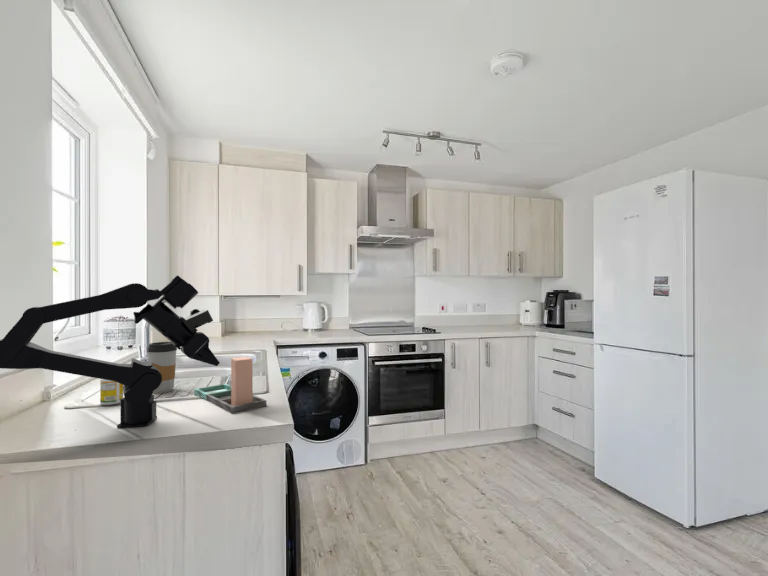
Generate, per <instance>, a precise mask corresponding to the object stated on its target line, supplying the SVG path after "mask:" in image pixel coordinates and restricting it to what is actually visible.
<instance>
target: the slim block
mask: <svg viewBox="0 0 768 576" xmlns="http://www.w3.org/2000/svg"><path fill="white" fill-rule="evenodd" d="M230 359H231V362H230V366H231V367H230V377H231V379H230V386H231V404H230V405H232V406H238V405H243V404H247V403H252V402H253V395H254V394H253V391H254V390H253V388H254V387H253V384H254V383H253V381H254V380H253V378H254V377H253V375H254V374H253V358H251V357H249V356H242V357H241V356H240V357H232V358H230Z"/></svg>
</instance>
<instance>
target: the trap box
mask: <svg viewBox="0 0 768 576" xmlns="http://www.w3.org/2000/svg"><path fill="white" fill-rule="evenodd" d="M194 395H196V396H198V395H199V396H198V397H200V396H202V397H203V398H202V397H201V398H202V399H204V398H205V399H206V400H205V399H204V400H205V401H207V400H208V401H207V402H209V401H210V403H211V402H212V403H211V404H213V403H214V404H213V405H215V406H217V407H219V408H221V409H223V410H225V411H226V412H229V413H230V414H235V413H241V412H245V411H250V410H254V409H258V408H264V407H267V399H265V398H262V397H259V396H257V395H256V394H255V395H254V394H253V402H252V403H247V404H243V405H238V406H232V405H231V384H227V383H222V384H215V385H211V386H210V385H209V386H204V387H199V388H194Z"/></svg>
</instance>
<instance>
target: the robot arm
mask: <svg viewBox="0 0 768 576" xmlns="http://www.w3.org/2000/svg"><path fill="white" fill-rule="evenodd" d="M198 294H199V291H198V290H197V289H196V288H195V287H194V286H193V285H192V284H190V283H189V282H187V281H186V280H184V279H183V278H182V277H181V276H179V275H174V276H173V278H172V279H171V280H170V281H169V282H168V283H167V284H165V286H164V287H163V288H161V290H159V289H158V288H155V289H148V287H146V286H145V285H144V284H143V283H134V282H133V283H130V284H125V285H122V286H120V287H118V288H115V289H112V290H110V291H107V292H104V293H101V294H97V295H93V296H87V297H83V298H77V299H72V300H69V301H63V302H58V303H54V304H48V305H44V306H33V307H30V308H27V309H26V310H24V312H23V314H22V316H21V317H20V319H19V320H17V322H16V323H15V324H14V325H13V326H12V328H11V329H10V330H9V331H8V332H7V333H6V334H5V336H4V337H3V338H1V339H0V369H10V370H30V369H31V370H32V369H34V370H35V369H40V370H41V369H42V370H49V371H55V372H58V373H66V374H72V375H77V376H83V377H89V378H94V379H99V380H101V379H105V380H111V381H115V382H118V383H120V384H122V385H123V398H122V399H120V403H119V404H120V407H119V409H120V414H119V415H120V421H119V422H120V423H118V424H117V425H116V428H133V427H135V428H136V427H146V426H148V425H149V424H151V423H152V422H153V421H154V420H156V419H157V418H158V415H157V401H156V400H155V394H153V391H154V390H155V389H157V388H158V387H159V386H160V384H161V381H162V376H161V374H160V372H159V371H158V369H157V368H156V367H155V366H153V365H152V364H151V363H150V361H141V360H139V359H136V358H131V361H130V363H116V362H112V361H106V360H101V359H97V358H92V357H91V358H90V357H85V356H81V355H76V354H71V353H65V352H61V351H55V350H51V349H47V348H45V347H44V346H41V345H39V344H37V343H34V342H31V341H32V339H33V338H34V337H35V335H36V334H37V333H38V331H39V330H40V329H41V328H42V326H43V325H44V324H47V323H51V322H57V321H61V320H65V319H69V318H74V317H79V316H82V315H84V316H85V315H88V314H92V313H97V312H100V311H106V310H123V309H136V308H141V307H143V306H144V307H143V308H142V309H141V310H140V311H133V312H132V313H133V316H134V317H133V318H134V319H133V322H134V323H135V325H137V324H139V323H140V322H141V321H142V320H144V321H145V322H146V323H148V324H149V325H150V326H152V327H153V328H154V329H155V330H156V331H157V332H158V333H160V334H161V335H162V336H164V338H166V339H167V340H168V341H169V342H172V343H173V345H174V346H175V347H177V350H179V351H181V352H182V353H183V354H184V355H185V356H186V357H188V359H191V360H195V361H198V362H202V363H205V364H208V365H212V366H215V367H218V366H219V365H220V360H218V359H217V357H216V355H215V354H214V353H213V351H212V349H211V348H210V347H209V346H210V345H209V344H210V337H208V336H207V335H206V334H205V333H203V332H200V331H198V329H197V328H199V327H202V326H204V325H207V324H209V323H211V322H213V321H214V319H213V317H212V315H211V314H210V311H209V309H206V308H205V309H202V310H199V308H194V309H191V310H190V314H189V316H187V317H185V318H184V317H183V316H179V315H178V314H177V313H176V312H175V311H174V310H176V309H177V308H180V309H183V308H184V307H186V306H187V305H188V304H189V303H190V302H191V301H192V300H193V299H194V298H195V297H196V296H197V295H198ZM154 300H155V303H154V304H153V305H152V304H150V303H148V302H150V301H154ZM156 300H157V301H156ZM163 301H164V302H166V303H167V304H168V305H169V306H170V307H171V308H173V309H174V310H173V309H171V308H170V307H169V306H168V305H166V304H165V303H164V302H163ZM147 303H148V304H147Z"/></svg>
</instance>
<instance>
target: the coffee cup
mask: <svg viewBox="0 0 768 576" xmlns="http://www.w3.org/2000/svg"><path fill="white" fill-rule="evenodd" d="M177 350H178V348H177V347H175V346H174V345H173V343H172V342H171V341H158V342H151V343H149V344H148V347H147V350H146V353H147V358H148V361H150V363H151V364H152V365H153V366H155V367H156V368H157V369H158V371H159V372H160V374H161V376H162V381H161V384H160V386H159V387H158V388H157V389H155V390H154V391H153V393H154V394H164V393H169V392H171V391H173V389H174V387H175V377H176V364H177V363H176V361H177V360H176V359H177ZM148 361H147V362H148Z"/></svg>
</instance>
